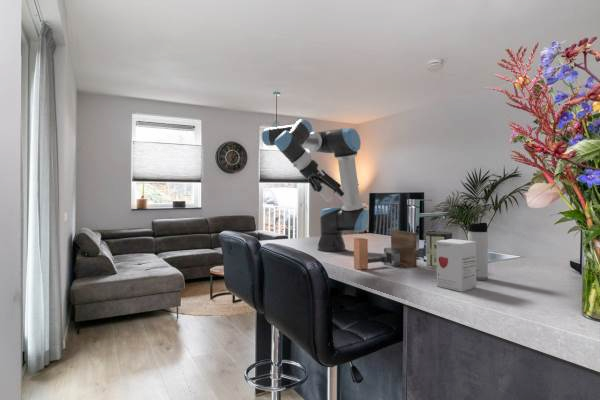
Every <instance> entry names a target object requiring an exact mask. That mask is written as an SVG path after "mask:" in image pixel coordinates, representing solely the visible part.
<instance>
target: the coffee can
mask: <svg viewBox="0 0 600 400" xmlns="http://www.w3.org/2000/svg"><path fill="white" fill-rule="evenodd" d="M448 239H453V232H450V231H427V232H425V245H426V246H425V248H426V249H425V253H426V257H425V260H426V261H425V262H426V267H428V268H430V269H437V241H439V240H448Z"/></svg>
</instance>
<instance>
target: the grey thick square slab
mask: <svg viewBox="0 0 600 400" xmlns="http://www.w3.org/2000/svg"><path fill="white" fill-rule="evenodd" d="M383 256H385V257H386V262H385V263H383V264H384V265H386V266H388V267H393V268H398V267H401V266H400V250H399V249H394V248H391V247H384V248H383Z"/></svg>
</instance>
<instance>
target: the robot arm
mask: <svg viewBox="0 0 600 400" xmlns="http://www.w3.org/2000/svg"><path fill="white" fill-rule="evenodd" d="M294 123H295V124H289V125H282V126H276V127H274V126H273V127H268V128H265V129H264V130H263V131H262V133H261V139H262V142H263V144H264V145H265V146H271V147H273V146H275V147H277V149H278V151H280V153H282V154H283V155H284V156H285V157H286V159H287V160H288V161H289V162H291V164H292V166H293V168H295V169H296V170H298V171H299V173H300V174H301V175H302V176H303V177H304V178H306V180H307V181H308V183H309V184H310V186H311V188H312V189H313V192H316V193H319V195H321V197H322V198H323V199H324V200H325V201H326V202H327V203H329V204H330V202H331V201H332V200H334V198H333V197H332V196H331V194H329V193H328V191H327V190H326V189H325V188H324V187H323V186H322V184H323V185H325V186H327V187H328V188H329V189H331V190H332V191H333V193H334V194H335V195H336V196H337V197H338V198H339V199H340V200H341V202H342V203H343V205H342V206H335V207H329V208H323V209H321V211H320V216H319V217H320V218H319V219H320V237H319V240H318V244H317V250H318V251H321V252H342V251H345V250H346V244H345V241H344V240H345V239H344V238H343V232H352V233H353V232H354V233H362V232H364V231H366V229H368V225H369V221H370V213H369V211H368V210H367V209H364V204H363V203H361V200H360V198H361V197H360V191H359V182H358V174H357V165H356V157H357V155H358V151H359V150H360V149H361V146H362V145H361V138H360V134H359V133H358V131H357V130H356V129H354V128H352V127H348V128H347V127H345V128H338V129H331V130H324V131H318V132H317V131H313V126H312V124H311V123H310V121H308V120H307V119H303V118H301V119H299V120H297V121H296V122H294ZM306 149H308V150H309V151H311V152H316V153H324V154H333V156H334V159H336V160H337V162H338V171H339V178H340V179H339V181H340V183H339V182H338V181H336V180H335V179H334V178H333V177H331V176H330V175H328V173H326V172H325V170H323V169H321V170H319V169H318V167H319V163H317V161H315V159H314V158H313V157H312V156H311V154H310V153H308V151H307V150H306Z"/></svg>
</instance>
